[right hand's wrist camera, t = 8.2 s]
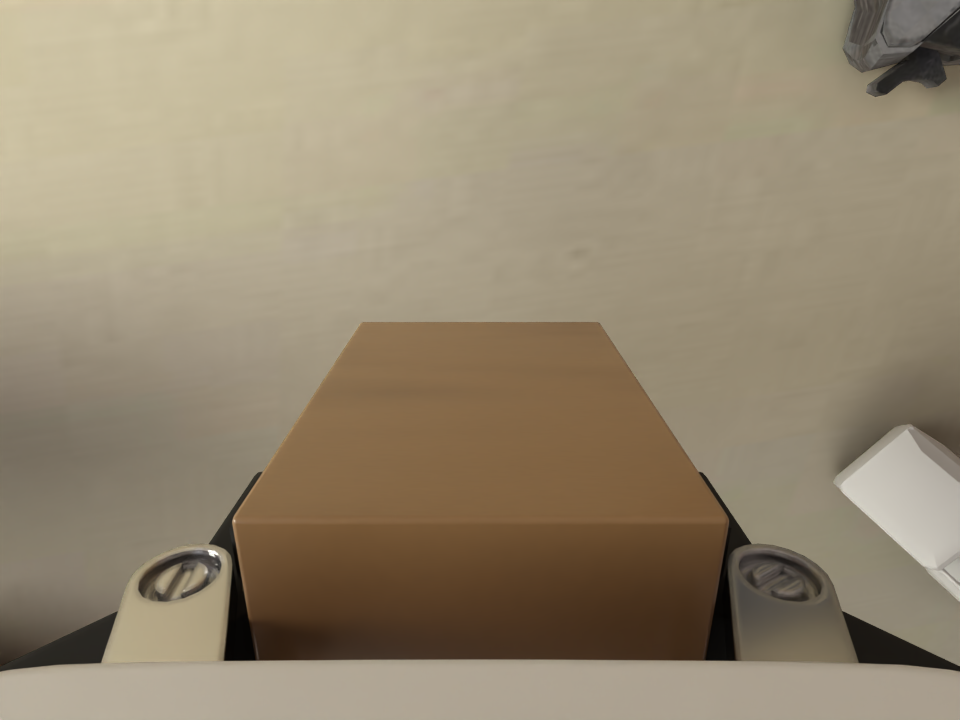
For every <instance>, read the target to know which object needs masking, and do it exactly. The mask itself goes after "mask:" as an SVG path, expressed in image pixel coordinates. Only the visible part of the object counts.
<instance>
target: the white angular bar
mask: <svg viewBox="0 0 960 720" xmlns="http://www.w3.org/2000/svg"><path fill="white" fill-rule="evenodd" d="M833 483H834V484H835V485H836V486H837V487H838V488H839V489H840V490H841V491H842V493H843V494H844V495H846V496H847V497H848V498H849V499H850V500H851V501H852V502H853V503H854V504H855V505H857V506H858V507H859V508H860V509H861V510H862V511H863V512H864V513H865V514H866V515H867V516H869V517H870V518H871V519H872V520H873V521H874V522H875V523H876V524H877V525H878V526H880V527H881V528H882V529H883V530H884V531H885V532H886V533H887V534H888V535H889V536H890V537H892V538H893V539H894V540H895V541H896V542H897V543H898V544H899V545H900V546H901V547H903V548H904V549H905V550H906V551H907V552H908V553H909V554H910V555H911V556H912V557H914V558H915V559H916V560H917V561H918V562H919V563H920V564H921V565H922V566H924V567H925V568H926V570H927V572H928V573H929V574H930V575H931V576H932V577H933V578H934V579H935V580H936V581H937V582H938V583H940V584H941V585H942V586H943V587H944V588H945V589H946V590H947V591H948V592H949V593H951V594H952V595H953V596H954V597H955V598H956V599H957V600H958V601H959V602H960V458H959V457H957V456H956V455H955V454H954V453H953V452H951V451H950V450H949V449H948V448H947V447H945V446H944V445H943V444H941V443H940V442H938V441H937V440H935V439H934V438H932V437H930V436H929V435H927V434H926V433H924V432H922V431H921V430H919V429H918V428H916V427H915V426H913V425H911V424H906V425H900V426H896V427H894V428H893V429H892V430H890V431H889V432H888V433H887V434H886V435H884V436H883V437H882V438H881V439H880V440H879V441H877V442H876V443H875V444H874V445H873V446H871V447H870V448H869V449H868V450H867V451H865V452H864V453H863V454H862V455H861V456H859V457H858V458H857V459H856V460H855V461H854V462H852V463H851V464H850V465H849V466H848V467H846V468H845V469H844V470H843V471H842V472H840V473H839V474H838V475H837V476H836V477H835V479H834V482H833Z"/></svg>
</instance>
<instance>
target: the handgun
mask: <svg viewBox="0 0 960 720" xmlns="http://www.w3.org/2000/svg"><path fill="white" fill-rule="evenodd" d="M854 3H855V9H854V12H853V16H852V19H851V22H850V25H849V29H848V34H847V37H846V40H845V43H844V46H843V50H844V52H845V54H846V57H847V59H848V61H849V63H850V64H851V65H852V66H853V67H855V68H856V69H858V70H859V71H860V72H865V71H869V70H873V69H877V68H881V67H884V66H888V65H892V64H895V63H898V64H896V65H895V66H894V67H892V68H891V69H889V70H888V71H887V72H885V73H884V74H882V75H881V76H880V77H878V78H877V79H875V80H874V81H873V82H871V83H870V84H868V85H867V91H866V92H867V93H869V94H871V95H873V96H875V97H877V96H881V95H885V94H887V93H889V92H890V91H891V90H893V89H894V88H895V87H896V86H898V85H899V84H900V83H902V82H903V81H914V82H919V83H922V84H923V85H924V86H925V87H926V88H932V87H937V86H939V85H940V84H941V83H942V82H944V81H945V80H946V79H947V78H946V75H945V71H944V68H943V66H944V65H960V0H854Z"/></svg>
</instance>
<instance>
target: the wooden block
mask: <svg viewBox="0 0 960 720" xmlns="http://www.w3.org/2000/svg"><path fill="white" fill-rule="evenodd" d="M232 524H233V530H234V536H235V542H236V548H237V554H238V559H239V565H240V571H241V577H242V583H243V589H244V594H245V600H246V606H247V612H248V618H249V624H250V630H251V635H252V641H253V647H254V653H255V659H256V661H286V660H675V661H705V660H706V654H707V648H708V642H709V637H710V631H711V625H712V619H713V613H714V608H715V602H716V596H717V590H718V584H719V579H720V573H721V567H722V561H723V555H724V550H725V544H726V538H727V532H728V526H729V519H728V516H727V515H726V513H725V512H724V510H723V509H722V507H721V506H720V504H719V503H718V501H717V499H716V498H715V496H714V495H713V493H712V492H711V490H710V489H709V487H708V486H707V484H706V483H705V481H704V480H703V478H702V477H701V475H700V474H699V472H698V471H697V469H696V468H695V466H694V465H693V463H692V462H691V460H690V459H689V457H688V456H687V454H686V453H685V451H684V450H683V448H682V447H681V445H680V444H679V442H678V441H677V439H676V438H675V436H674V435H673V433H672V432H671V430H670V429H669V427H668V426H667V424H666V423H665V421H664V420H663V418H662V416H661V415H660V413H659V412H658V410H657V409H656V407H655V406H654V404H653V403H652V401H651V400H650V398H649V397H648V395H647V394H646V392H645V391H644V389H643V388H642V386H641V385H640V383H639V382H638V380H637V379H636V377H635V376H634V374H633V373H632V371H631V370H630V368H629V367H628V365H627V364H626V362H625V361H624V359H623V358H622V356H621V355H620V353H619V352H618V350H617V349H616V347H615V346H614V344H613V343H612V341H611V340H610V338H609V337H608V335H607V334H606V332H605V330H604V329H603V327H602V326H601V324H600V323H598V322H363V323H361V324H360V325H359V327H358V328H357V330H356V331H355V333H354V334H353V336H352V337H351V339H350V340H349V342H348V344H347V345H346V347H345V348H344V350H343V351H342V353H341V354H340V356H339V357H338V359H337V360H336V362H335V363H334V365H333V366H332V368H331V369H330V371H329V372H328V374H327V375H326V377H325V378H324V380H323V381H322V383H321V385H320V386H319V388H318V389H317V391H316V392H315V394H314V395H313V397H312V398H311V400H310V401H309V403H308V404H307V406H306V407H305V409H304V410H303V412H302V413H301V415H300V416H299V418H298V419H297V421H296V422H295V424H294V426H293V427H292V429H291V430H290V432H289V433H288V435H287V436H286V438H285V439H284V441H283V442H282V444H281V445H280V447H279V448H278V450H277V451H276V453H275V454H274V456H273V457H272V459H271V460H270V462H269V463H268V465H267V467H266V468H265V470H264V471H263V473H262V474H261V476H260V477H259V479H258V480H257V482H256V483H255V485H254V486H253V488H252V489H251V491H250V492H249V494H248V495H247V497H246V498H245V500H244V501H243V503H242V504H241V506H240V508H239V509H238V511H237V512H236V514H235V515H234V517H233V520H232Z"/></svg>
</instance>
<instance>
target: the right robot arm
mask: <svg viewBox="0 0 960 720" xmlns="http://www.w3.org/2000/svg"><path fill="white" fill-rule="evenodd" d="M262 473H263V472H259V473H257V474H256V475H255V476H254V478H253V479H252V481H251V482H250V484H249V485H248V487H247V488H246V490H245V491H244V493H243V494H242V496H241V497H240V499H239V500H238V501H237V503H236V504H235V506H234V507H233V509H232V510H231V512H230V513H229V515H228V516H227V518H226V519H225V521H224V522H223V524H222V525H221V527H220V528H219V530H218V531H217V533H216V534H215V536H214V537H213V539H212V540H211V542H210V543H209V544H193V545H185V546H182V547H178V548H174V549H171V550H168V551H166V552H164V553H162V554H159V555H157V556H155V557H154V558H152V559H151V560H149V561H147V562H146V563H144V564H143V565H142V566H141V567H140V568H139V569H138V570H137V571H136V572H135V573H134V574H132V576H131V578H130V580H129V582H128V583H127V585H126V588H125V591H124V594H123V597H122V601H121V604H120V607H119V610H118V611H117V612H115V613H113V614H111V615H109V616H107V617H104V618H102V619H100V620H98V621H96V622H94V623H92V624H90V625H88V626H85V627H83V628H81V629H79V630H77V631H75V632H73V633H71V634H68V635H66V636H64V637H62V638H60V639H58V640H56V641H54V642H52V643H49V644H47V645H45V646H43V647H41V648H39V649H37V650H35V651H32V652H30V653H28V654H26V655H24V656H22V657H20V658H18V659H16V660H13V661H11V662H9V663H7V664H5V665H3V666H1V667H0V720H960V666H957V665H955V664H953V663H951V662H949V661H947V660H945V659H943V658H941V657H938V656H936V655H934V654H932V653H930V652H928V651H926V650H924V649H921V648H919V647H917V646H915V645H913V644H911V643H909V642H907V641H905V640H902V639H900V638H898V637H896V636H894V635H892V634H890V633H888V632H886V631H883V630H881V629H879V628H877V627H875V626H873V625H871V624H869V623H866V622H864V621H862V620H860V619H858V618H856V617H854V616H852V615H850V614H847V613H845V612H843V611H842V610H841V607H840V604H839V601H838V597H837V594H836V591H835V588H834V585H833V583H832V582H831V580H830V578H829V576H828V574H826V573H825V572H824V571H823V570H822V569H821V568H820V567H819V566H818V565H817V564H816V563H814V562H813V561H811V560H809V559H808V558H806V557H805V556H803V555H801V554H798V553H796V552H794V551H792V550H789V549H786V548H782V547H778V546H775V545H767V544H751V542H750V541H749V539H748V538H747V536H746V535H745V533H744V532H743V530H742V529H741V527H740V526H739V525H738V523H737V522H736V520H735V519H734V517H733V516H732V514H731V513H730V511H729V510H728V508H727V507H726V505H725V504H724V502H723V501H722V499H721V498H720V496H719V495H718V493H717V492H716V490H715V489H714V487H713V486H712V484H711V483H710V482H709V480H708V479H707V477H706V476H705V475H704V474H703V473H702V472H699V474H700V475H701V477H702V478H703V480H704V481H705V483H706V484H707V486H708V487H709V489H710V490H711V492H712V493H713V495H714V496H715V498H716V499H717V501H718V503H719V504H720V506H721V507H722V509H723V510H724V512H725V513H726V515H727V516H728V519H729V526H728V532H727V538H726V544H725V550H724V555H723V561H722V567H721V573H720V579H719V584H718V590H717V596H716V602H715V608H714V613H713V619H712V625H711V631H710V637H709V642H708V648H707V654H706V660H705V661H675V660H286V661H256V659H255V653H254V647H253V641H252V635H251V630H250V624H249V618H248V612H247V606H246V600H245V594H244V589H243V583H242V577H241V571H240V565H239V559H238V554H237V548H236V542H235V536H234V530H233V524H232V520H233V517H234V515H235V514H236V512H237V511H238V509H239V508H240V506H241V504H242V503H243V501H244V500H245V498H246V497H247V495H248V494H249V492H250V491H251V489H252V488H253V486H254V485H255V483H256V482H257V480H258V479H259V477H260V476H261V474H262Z"/></svg>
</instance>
